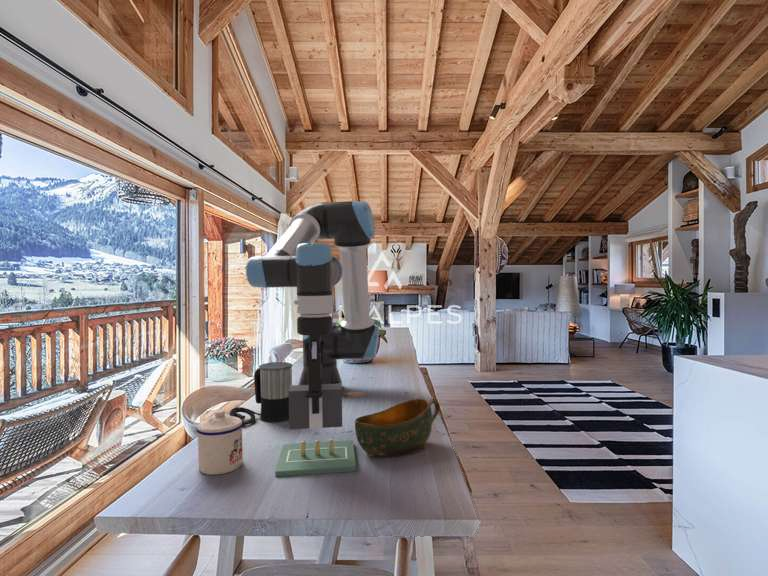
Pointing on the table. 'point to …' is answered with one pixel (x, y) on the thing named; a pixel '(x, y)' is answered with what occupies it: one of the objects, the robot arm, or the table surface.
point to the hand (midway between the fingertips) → (316, 423)
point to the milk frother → (270, 393)
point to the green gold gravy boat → (397, 429)
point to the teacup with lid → (220, 444)
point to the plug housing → (329, 405)
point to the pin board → (316, 458)
